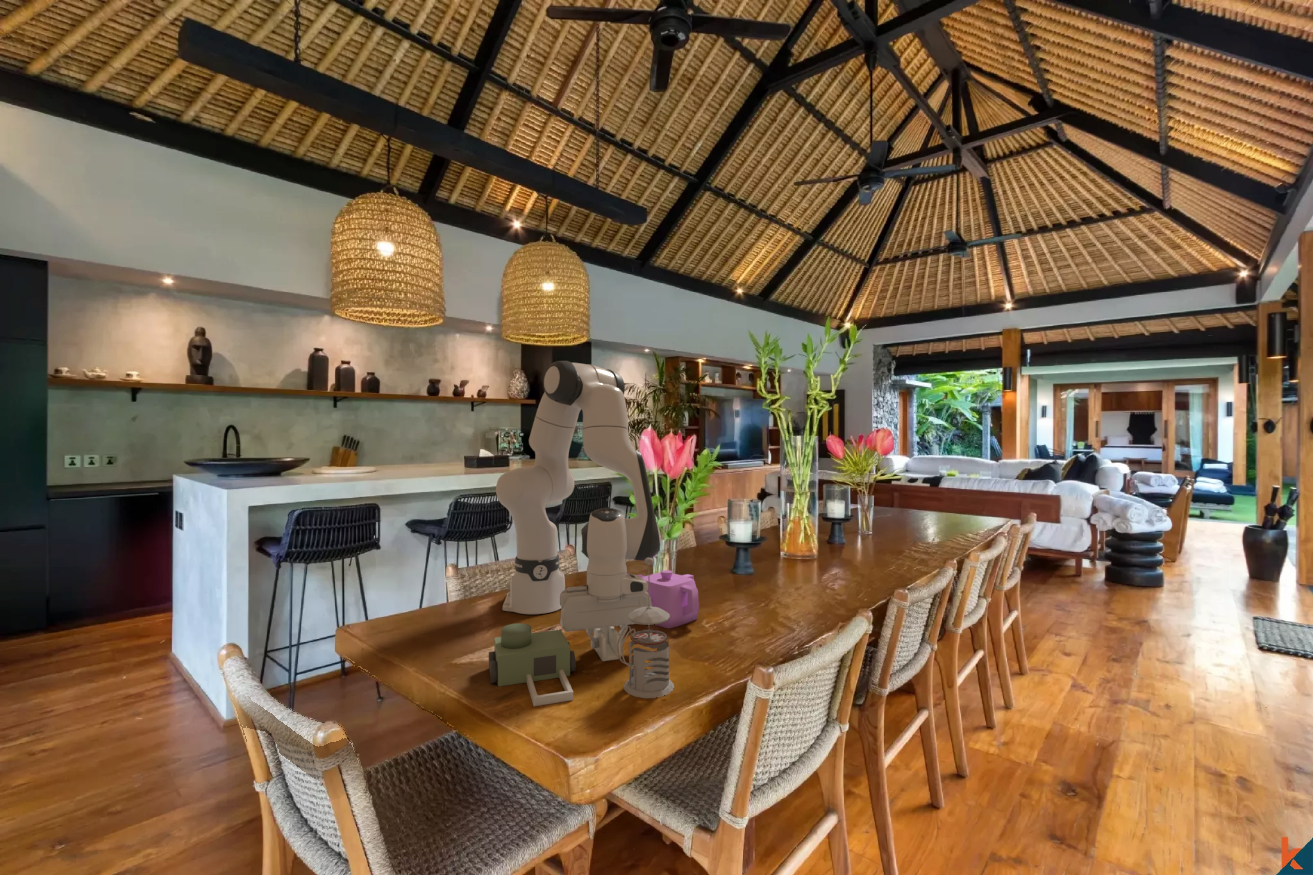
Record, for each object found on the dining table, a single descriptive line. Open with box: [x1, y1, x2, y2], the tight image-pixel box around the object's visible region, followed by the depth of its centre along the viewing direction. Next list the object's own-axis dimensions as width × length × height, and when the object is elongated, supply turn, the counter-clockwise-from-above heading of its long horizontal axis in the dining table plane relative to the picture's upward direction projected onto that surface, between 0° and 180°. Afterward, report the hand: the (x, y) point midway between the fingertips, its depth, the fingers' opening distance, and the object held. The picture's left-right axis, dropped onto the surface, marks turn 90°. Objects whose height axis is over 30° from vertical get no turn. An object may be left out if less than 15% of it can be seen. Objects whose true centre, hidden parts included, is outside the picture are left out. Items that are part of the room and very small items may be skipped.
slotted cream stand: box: [593, 626, 622, 662], centre depth 126 cm, size 8×4×5 cm, turn 20°
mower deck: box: [488, 623, 577, 707], centre depth 112 cm, size 20×16×9 cm
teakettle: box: [637, 569, 700, 629], centre depth 150 cm, size 17×17×12 cm
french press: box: [617, 558, 675, 699], centre depth 110 cm, size 10×12×25 cm
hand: (606, 645), depth 126 cm, fingers closed on slotted cream stand, 4 cm apart
